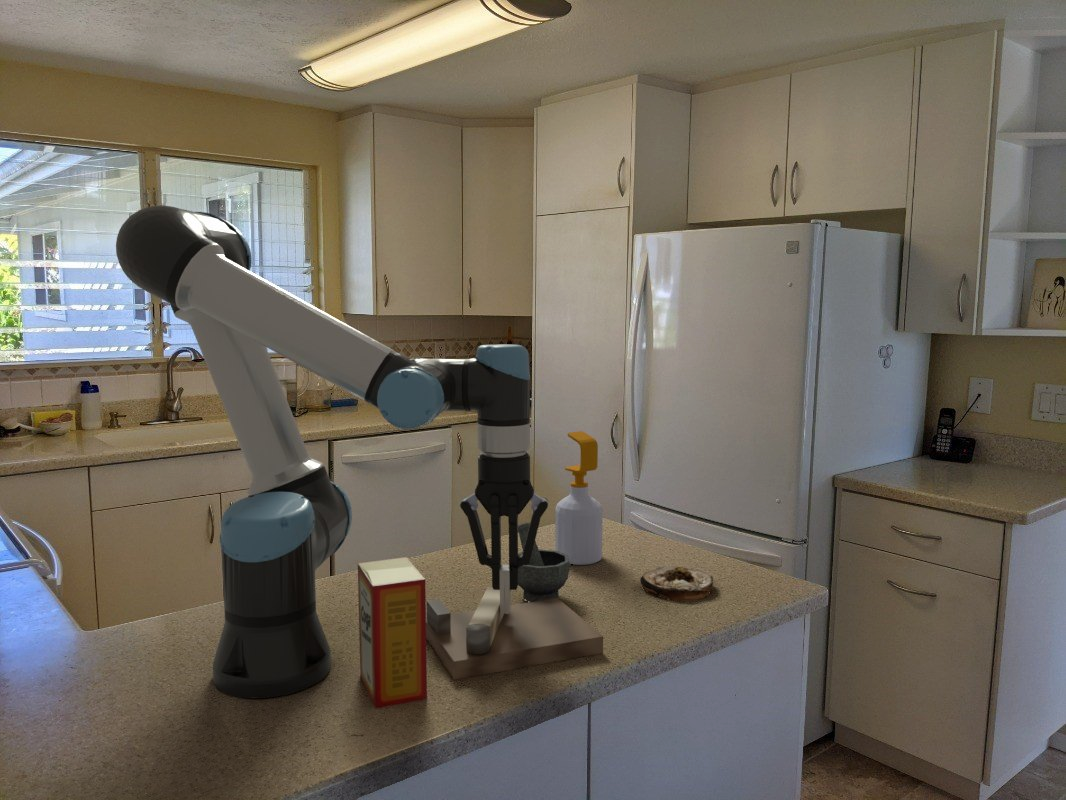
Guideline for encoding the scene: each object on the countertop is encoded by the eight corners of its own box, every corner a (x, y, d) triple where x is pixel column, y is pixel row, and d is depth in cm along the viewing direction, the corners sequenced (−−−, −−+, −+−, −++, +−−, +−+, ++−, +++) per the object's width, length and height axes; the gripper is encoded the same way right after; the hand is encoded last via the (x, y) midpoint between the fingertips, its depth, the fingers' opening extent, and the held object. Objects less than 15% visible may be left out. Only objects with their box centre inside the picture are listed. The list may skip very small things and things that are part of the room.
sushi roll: (615, 586, 146) (616, 563, 146) (676, 571, 155) (676, 549, 154) (676, 612, 134) (677, 587, 134) (738, 593, 143) (739, 570, 143)
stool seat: (454, 679, 110) (453, 639, 109) (423, 633, 125) (422, 598, 124) (603, 653, 118) (603, 616, 117) (557, 613, 133) (557, 580, 132)
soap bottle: (579, 548, 167) (580, 427, 164) (611, 559, 160) (613, 433, 157) (545, 557, 161) (546, 432, 158) (577, 569, 154) (578, 438, 151)
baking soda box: (360, 675, 111) (357, 560, 109) (408, 667, 113) (406, 554, 111) (375, 708, 102) (372, 583, 100) (427, 698, 105) (425, 576, 103)
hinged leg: (487, 655, 111) (487, 633, 111) (464, 653, 111) (464, 632, 111) (507, 606, 128) (507, 587, 128) (487, 605, 129) (487, 586, 128)
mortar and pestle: (581, 600, 138) (581, 530, 137) (535, 613, 133) (535, 540, 131) (540, 581, 147) (541, 515, 146) (496, 592, 142) (496, 524, 140)
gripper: (549, 447, 123) (549, 601, 126) (462, 447, 123) (464, 600, 126) (548, 457, 115) (549, 620, 118) (455, 457, 116) (458, 619, 119)
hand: (505, 610), depth 122 cm, fingers closed
